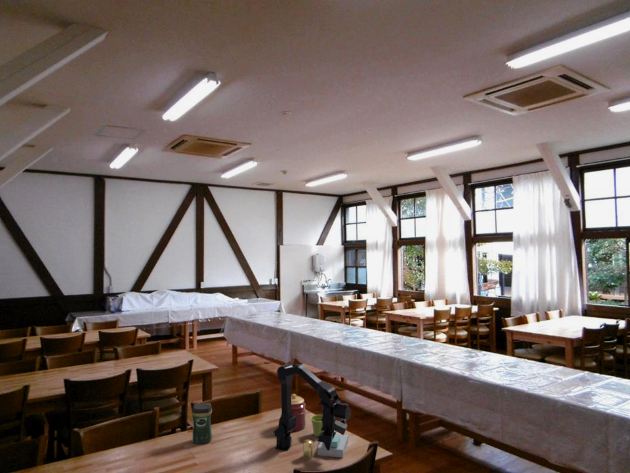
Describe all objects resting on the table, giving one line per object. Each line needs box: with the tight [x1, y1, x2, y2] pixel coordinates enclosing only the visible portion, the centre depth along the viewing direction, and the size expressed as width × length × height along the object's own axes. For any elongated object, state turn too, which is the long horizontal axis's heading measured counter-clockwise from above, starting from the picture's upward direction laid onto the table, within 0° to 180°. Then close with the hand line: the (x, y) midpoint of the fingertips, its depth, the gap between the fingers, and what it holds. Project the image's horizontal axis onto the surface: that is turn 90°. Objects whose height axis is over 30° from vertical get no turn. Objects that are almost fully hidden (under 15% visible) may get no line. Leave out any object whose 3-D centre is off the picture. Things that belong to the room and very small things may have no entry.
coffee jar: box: [191, 402, 213, 445], centre depth 218 cm, size 10×8×19 cm
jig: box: [317, 433, 350, 459], centre depth 210 cm, size 12×17×4 cm
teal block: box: [324, 435, 340, 447], centre depth 206 cm, size 6×7×2 cm
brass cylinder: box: [302, 439, 314, 460], centre depth 201 cm, size 4×4×7 cm
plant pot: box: [310, 414, 323, 438], centre depth 225 cm, size 9×9×9 cm
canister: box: [291, 393, 307, 432], centre depth 236 cm, size 13×13×18 cm
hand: (328, 450), depth 198 cm, fingers closed
